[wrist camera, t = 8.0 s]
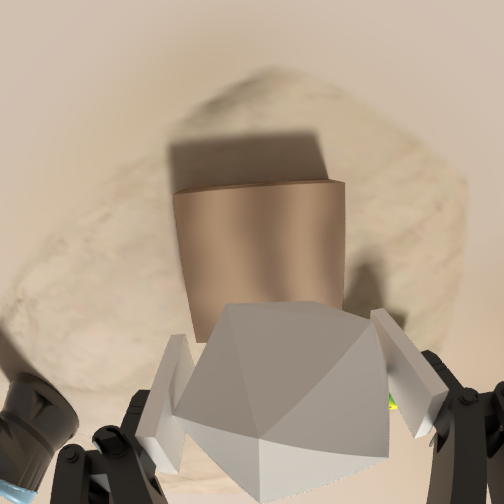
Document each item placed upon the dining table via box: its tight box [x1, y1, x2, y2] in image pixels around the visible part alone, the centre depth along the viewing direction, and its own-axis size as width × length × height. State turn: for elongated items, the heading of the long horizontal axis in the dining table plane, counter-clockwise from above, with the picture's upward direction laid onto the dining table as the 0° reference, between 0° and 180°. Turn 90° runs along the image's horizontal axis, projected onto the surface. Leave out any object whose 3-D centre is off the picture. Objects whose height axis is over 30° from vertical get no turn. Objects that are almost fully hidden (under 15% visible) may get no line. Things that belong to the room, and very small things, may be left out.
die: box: [173, 300, 389, 504], centre depth 11 cm, size 8×9×10 cm
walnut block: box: [173, 179, 345, 343], centre depth 27 cm, size 14×14×5 cm
